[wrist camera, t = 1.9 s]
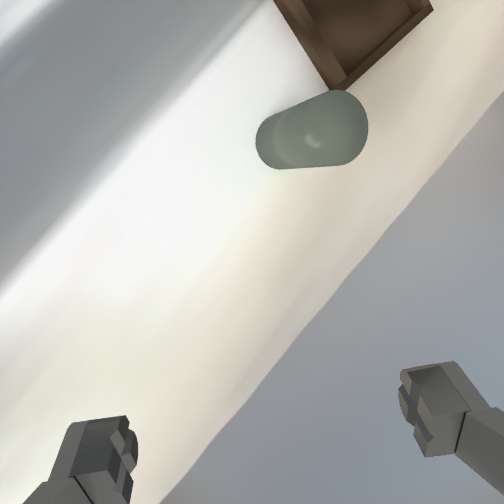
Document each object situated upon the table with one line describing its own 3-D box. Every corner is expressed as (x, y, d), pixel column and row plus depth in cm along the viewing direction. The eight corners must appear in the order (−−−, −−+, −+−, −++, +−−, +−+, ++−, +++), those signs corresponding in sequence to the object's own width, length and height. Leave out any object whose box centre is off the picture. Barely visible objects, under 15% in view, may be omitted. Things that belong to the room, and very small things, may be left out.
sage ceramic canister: (244, 137, 34) (290, 121, 25) (284, 102, 34) (343, 74, 25) (277, 180, 36) (331, 180, 26) (314, 146, 36) (379, 134, 27)
